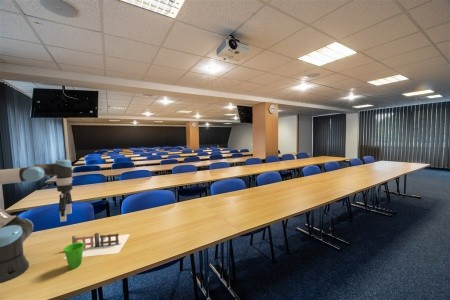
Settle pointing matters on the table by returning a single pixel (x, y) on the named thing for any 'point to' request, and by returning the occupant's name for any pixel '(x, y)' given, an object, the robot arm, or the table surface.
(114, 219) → the table surface
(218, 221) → the table surface
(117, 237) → the fence fixed
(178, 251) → the table surface
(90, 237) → the fence swing
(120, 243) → the card
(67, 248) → the cup
